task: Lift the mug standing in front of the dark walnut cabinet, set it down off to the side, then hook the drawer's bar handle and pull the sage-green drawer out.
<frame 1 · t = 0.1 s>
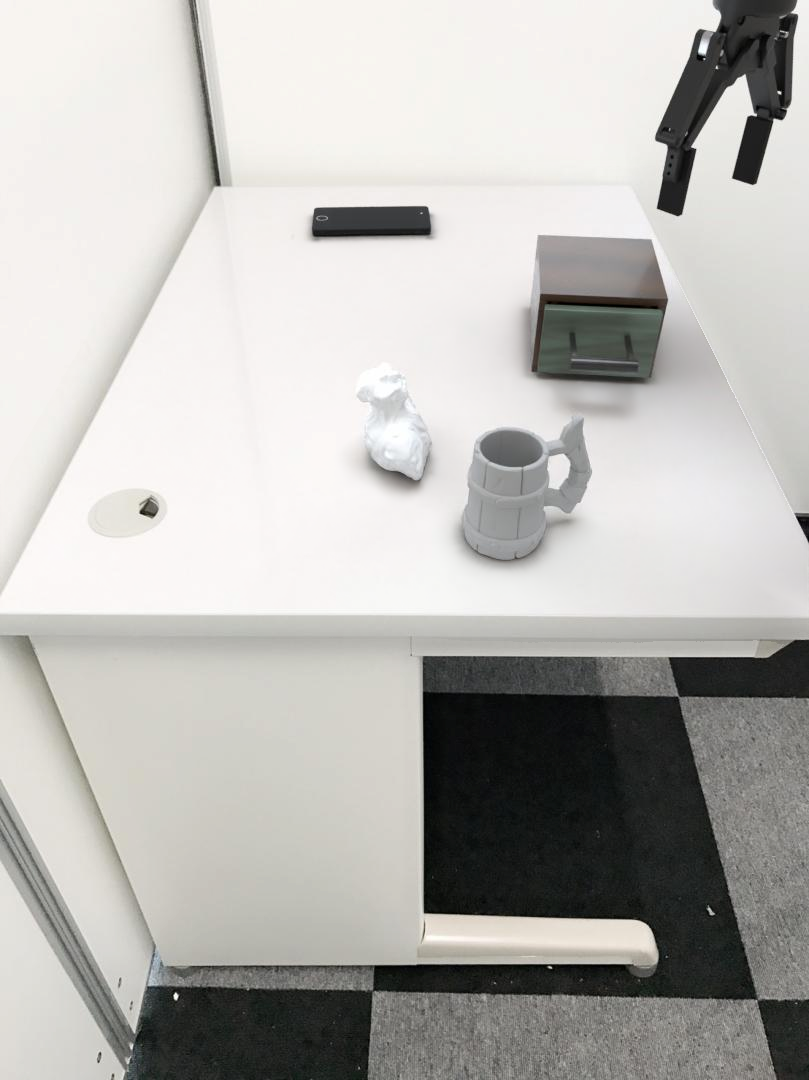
hand: (707, 196, 92), 18 cm above the table, tool pointing down, fingers open, 13 cm apart
drawer: (595, 327, 97), point 5 cm above the table, slide at 0.5 cm
cell phone: (371, 224, 131), on the table
mug: (522, 531, 79), on the table
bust: (395, 458, 87), on the table
cabinet: (586, 340, 105), on the table
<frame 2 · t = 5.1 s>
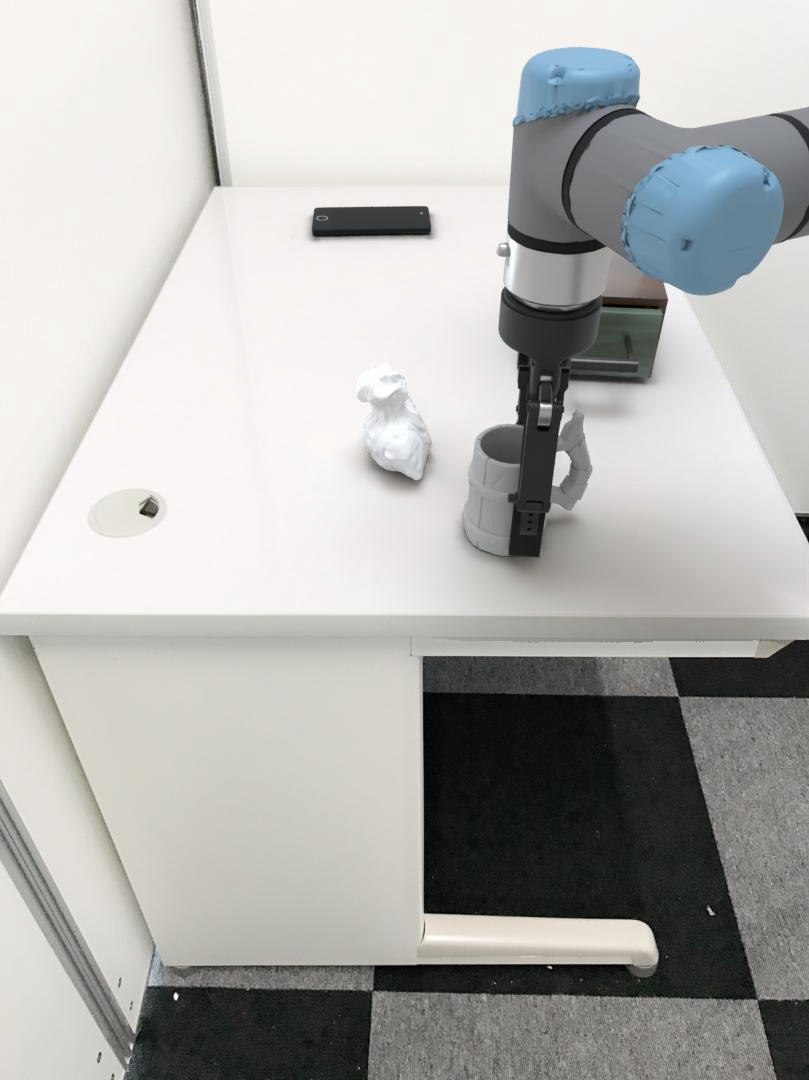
hand: (523, 522, 78), 1 cm above the table, tool pointing down, fingers closed on mug, 8 cm apart
mug: (523, 527, 80), on the table, touching gripper
everything else where it was.
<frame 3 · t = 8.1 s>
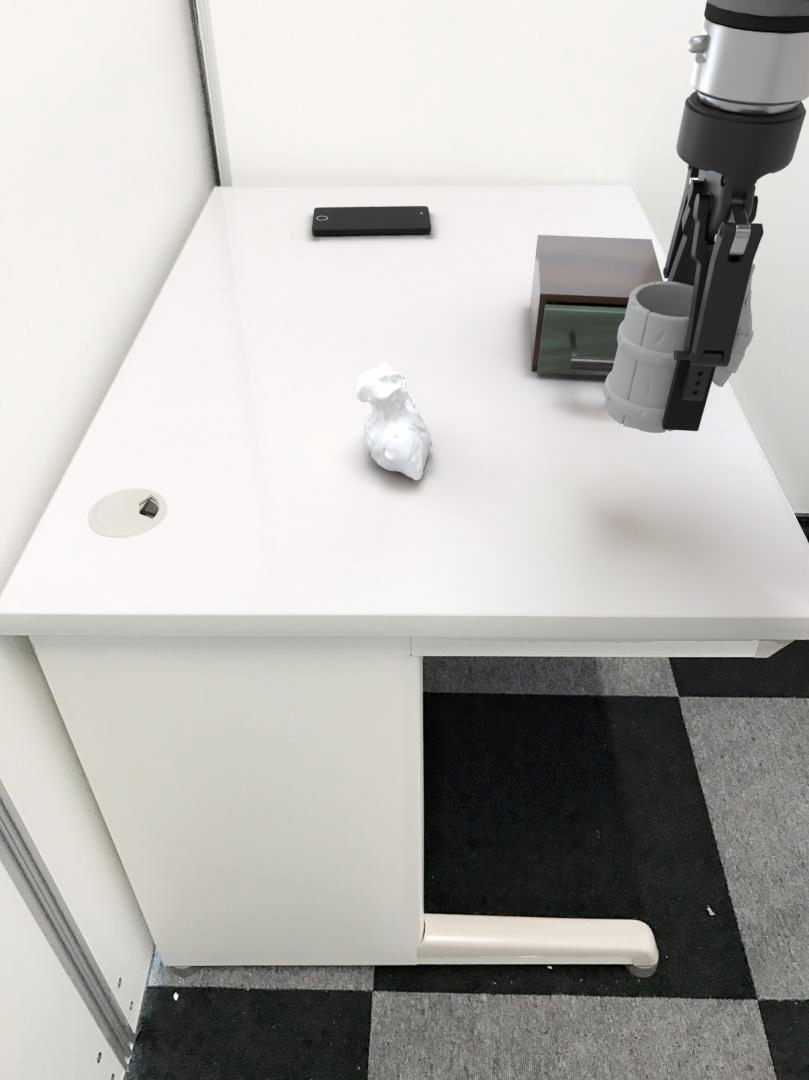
hand: (672, 398, 70), 14 cm above the table, tool pointing down, fingers closed on mug, 8 cm apart
mug: (668, 406, 71), point 13 cm above the table, touching gripper
everything else where it was.
when the fingers open (1 cm above the table, at t = 11.5 s): mug stays where it is, on the table.
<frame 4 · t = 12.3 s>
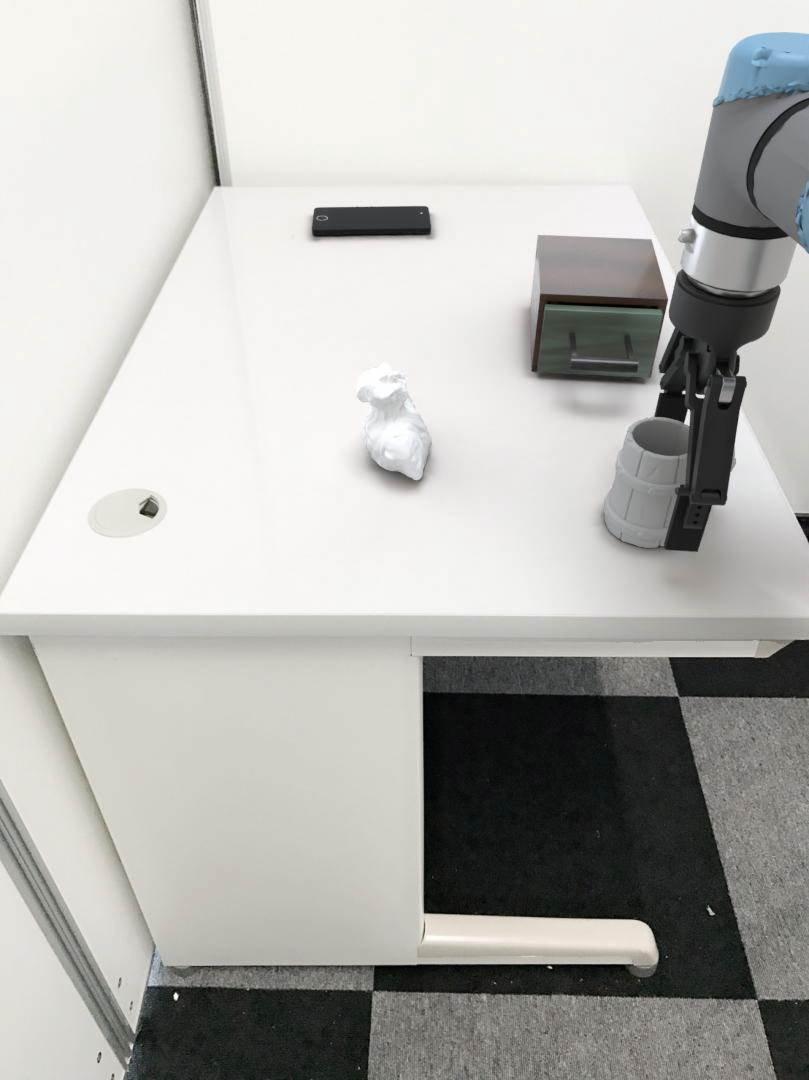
hand: (670, 497, 77), 3 cm above the table, tool pointing down, fingers open, 13 cm apart
mug: (661, 520, 80), on the table
everything else where it was.
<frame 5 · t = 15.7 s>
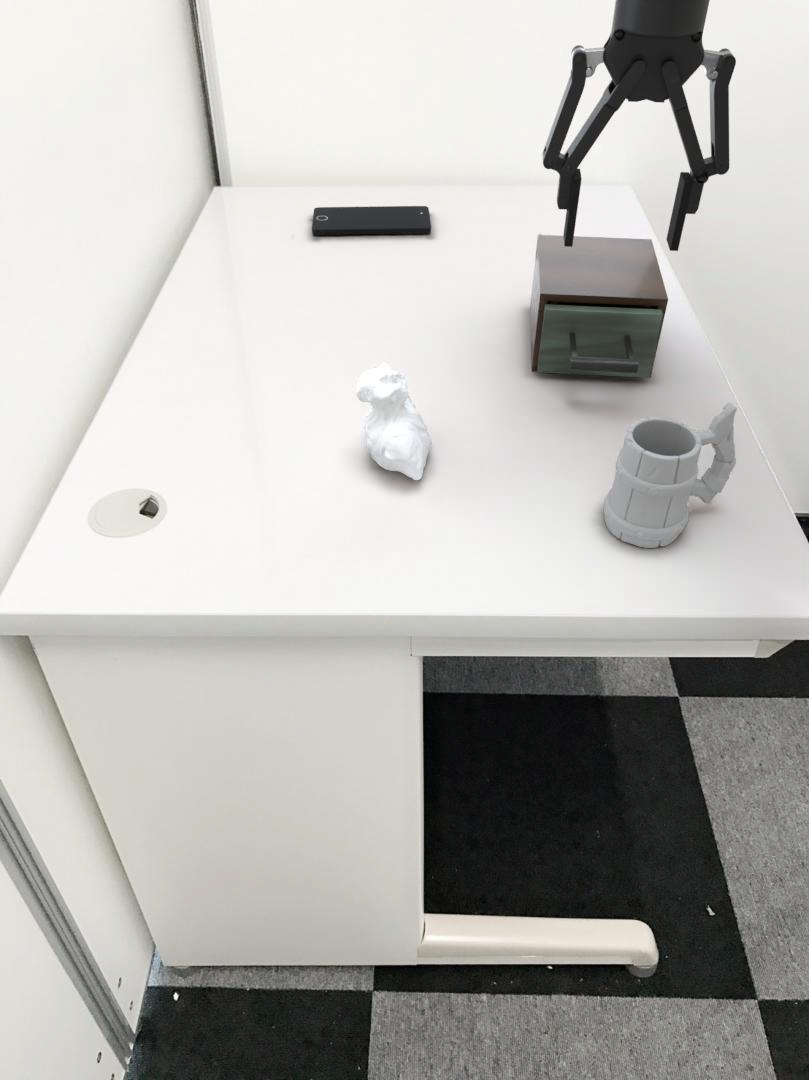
hand: (619, 242, 84), 18 cm above the table, tool pointing down, fingers open, 9 cm apart
nothing on the table moved.
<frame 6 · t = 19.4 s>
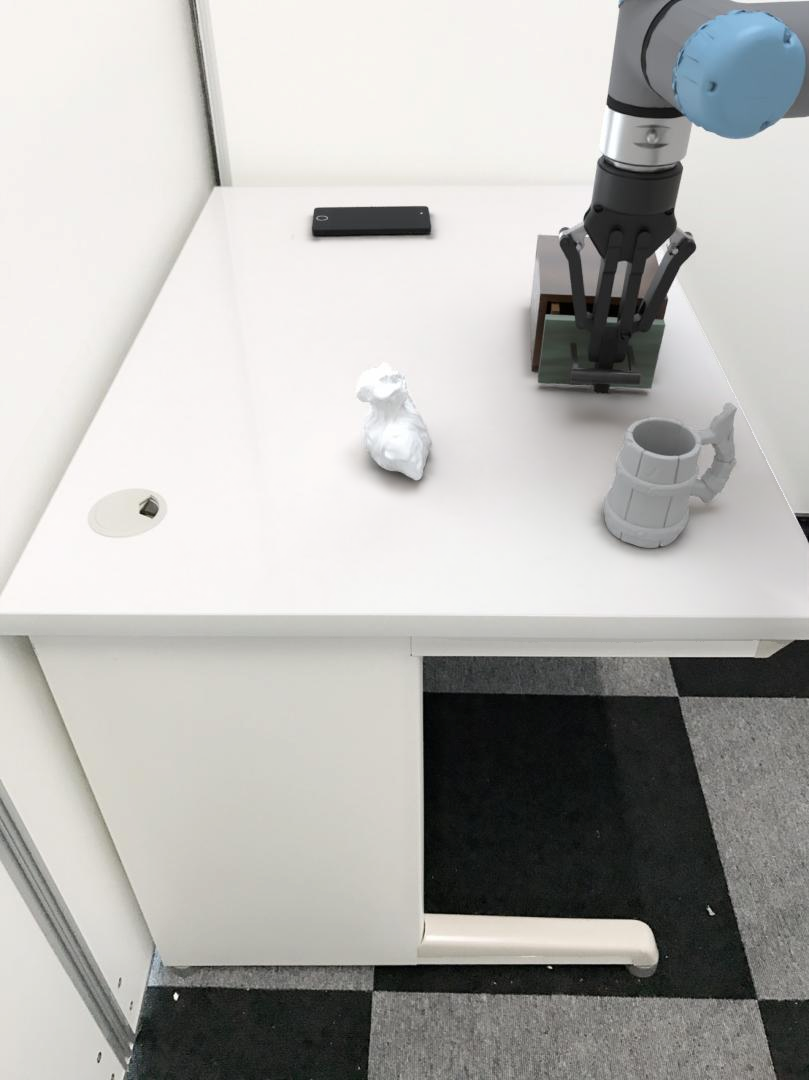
hand: (600, 386, 91), 3 cm above the table, tool pointing down, fingers closed
drawer: (597, 337, 96), point 5 cm above the table, slide at 2.8 cm, touching gripper
everything else where it was.
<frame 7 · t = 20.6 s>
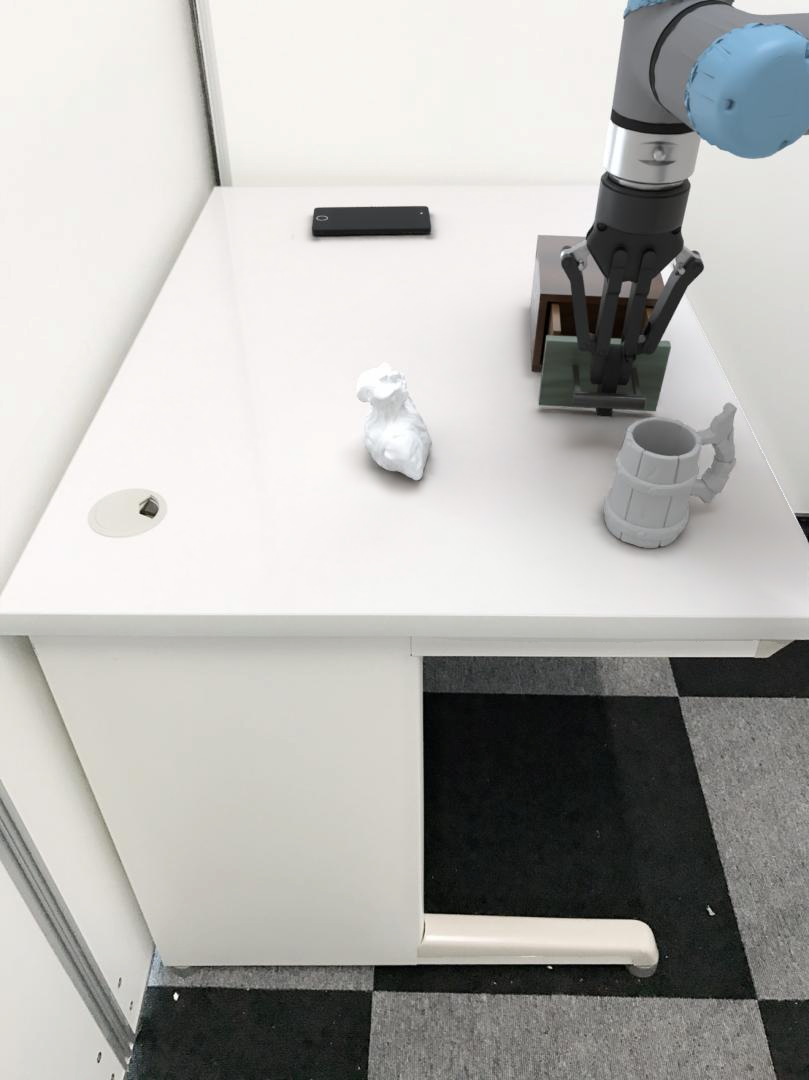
hand: (603, 408, 88), 3 cm above the table, tool pointing down, fingers closed
drawer: (600, 357, 92), point 5 cm above the table, slide at 7.3 cm, touching gripper
everything else where it was.
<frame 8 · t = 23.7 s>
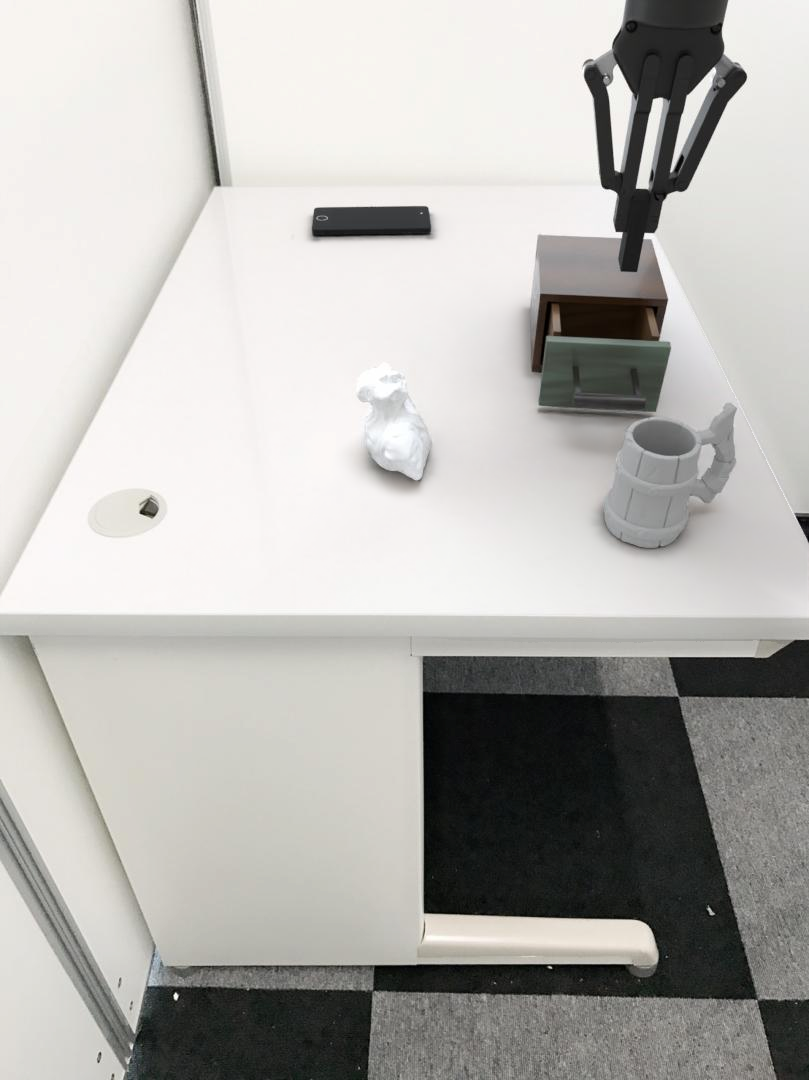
hand: (627, 265, 79), 18 cm above the table, tool pointing down, fingers closed
drawer: (600, 358, 92), point 5 cm above the table, slide at 7.5 cm
everything else where it was.
at the end: drawer slide at 7.5 cm; mug inside the target area (0.8 cm from its centre), on the table; mug tilted 0° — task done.
